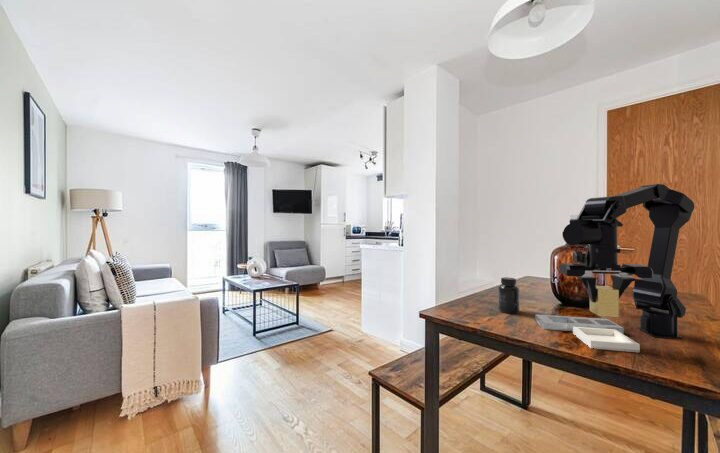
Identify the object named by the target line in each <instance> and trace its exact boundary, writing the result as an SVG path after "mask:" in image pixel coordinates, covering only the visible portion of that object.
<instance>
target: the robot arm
mask: <svg viewBox="0 0 720 453" xmlns="http://www.w3.org/2000/svg"><path fill="white" fill-rule="evenodd" d="M641 204H642V207H643V209H645V210H646V211H648V218H649V220H650V221H651V222H652V224H653V225H654V228H653V233H652V237H651V238H652V239H651V245H650V250H649V256H648V259H647V260H648V262H647V265H643V264H639V263H636V264H635V263H622V265H621V264H618V254H620V253H621V248H618V227H621V228H622V227H623V226H624V224H623V223H622V222H621V221H619V220H618V219H617V218H619V217H621V216H623V215H625V214H626V213H627V210H628V209H630V208H632V207H636V206H639V205H641ZM694 210H695V203H694V201H693V200H692V199H691V198H690V197H689V196H687V194H686V193H684V192H680V191H678V190H674V189H672V188H670V187H668V186H667V185H666V184H661V183H655V184H646V185H642V186H640V187H637V188H634V189H631V190H629V191H628V190H627V191H625V192H622V193H619V194H618V193H617V194H616V195H612V196H600V197H590V198H588V199H587V200H586V201H585V203H584V205H583V206H582V208H581V210H580V212H579V214H578V216H577V217H576V218H575V219H574V218H571V219H569V224H567V225H566V226H565V227H564V229H563V231H562V238H563V240H564V242H565V243H566V244H568V245H570V246H587V245H588V246H587V247H586V253H585V252H582V251H580V250H576V251H575V250H574V251H573V252H572V262H571V263H570V262H568V263H567V262H561V264H560V265H559V267H558V268H559V270H558V272H559V273H560V274H562V275H564V276H567V277H575V278H578V279H579V280H580V281H581V282H582V285H583V286H584V288H585V291H586V292H587V294H588V298H589V301H590V300H591V301H592V302H595V298H596V286H597V278H596V277H593V274H605V275H610V278H611V281H612V286H611V287H612V288H615V289H618V290H619V300H620V298H621V297H622V295H623V294H624V292H625V291H626V289H627V288H628V287H629V286H630V285H631V284H632V282H634V285H633V289H632V291H631V292H632V297H633V298H632V299H633V303H634V306H635V308H636V310H642V313H641V315H640V327H638V329H639V330H640V331H642V332H644V333H646V334H647V335H650V336H652V337H655V338H663V339H665V338H666V339H678V340H679V339H681V340H683V337H682V336H681V335H679V334H678V318H681V319H682V318H683V317H685V315H686V311H687V308H686V307H685V305H684V304H683V303H682V302H681V300H680V299H679V298H678V289H677V287H676V285H675V284H674V283H673V281H672V273H673V268H674V267H673V266H674V261H675V255H676V249H677V245H678V240H679V233H680V229H681V228H683V227H684V225H686V224H687V223H689V221H691V217H692V213H693V212H694ZM633 275H634V276H636V277H637V278H634V277H633Z"/></svg>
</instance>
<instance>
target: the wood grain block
mask: <svg viewBox="0 0 720 453" xmlns="http://www.w3.org/2000/svg"><path fill="white" fill-rule="evenodd" d="M589 311H590V312H591V313H593V314H594V315H596V316H597V317H613V318H614V317H615V318H619V317H620V299H619V290H618V289H615V288H612V286H608V285H596V298H595V302H592V301H591V300H590V299H589Z"/></svg>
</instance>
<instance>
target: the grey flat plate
mask: <svg viewBox="0 0 720 453" xmlns="http://www.w3.org/2000/svg"><path fill="white" fill-rule="evenodd" d="M534 321H535V322H536V323H537V324H538V325H539V326H540V327H541V328H542V329H543V330H552V331H562V332H563V331H565V332H573V327H586V328H600V329H615V330H617V331H618V332H620V333H622V334H623V335H625V333H624V332H625V331H624V327H623V326H621V325H619V324H617V323H616V322H614V321H612V320H610V319H608V318H600V317H599V318H598V317H585V316H584V317H583V316H567V315H553V314H551V315H550V314H535V315H534Z"/></svg>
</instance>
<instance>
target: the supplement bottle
mask: <svg viewBox="0 0 720 453" xmlns="http://www.w3.org/2000/svg"><path fill="white" fill-rule="evenodd" d="M497 292H498V294H497V299H498V300H497V304H498V306H497V307H498V311H500V312H501V313H505V314H519V312H520V288H519V287H518V286H517V278H514V277H509V276H508V277H504V276H503V277H501V280H500V285H499V286H498V288H497Z"/></svg>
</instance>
